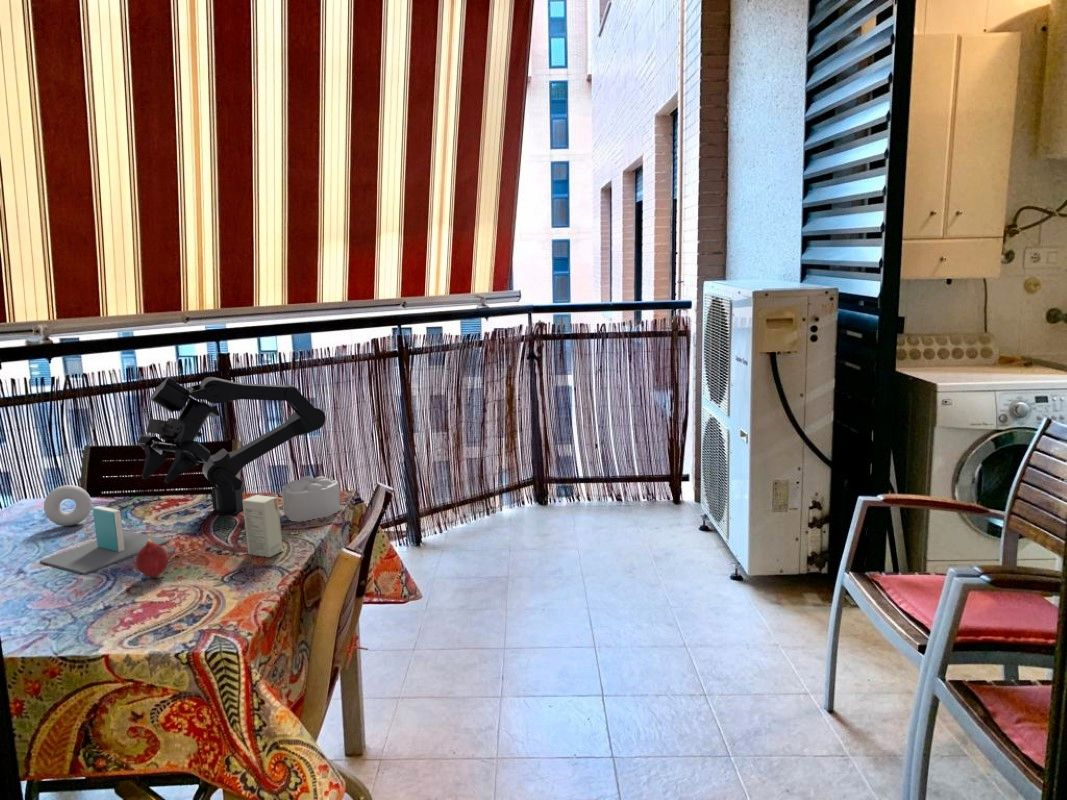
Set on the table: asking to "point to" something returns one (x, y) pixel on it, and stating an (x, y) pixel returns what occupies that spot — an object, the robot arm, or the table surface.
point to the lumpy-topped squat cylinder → (310, 498)
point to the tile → (108, 528)
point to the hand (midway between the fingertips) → (154, 480)
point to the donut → (61, 494)
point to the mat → (100, 554)
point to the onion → (152, 559)
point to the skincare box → (262, 525)
